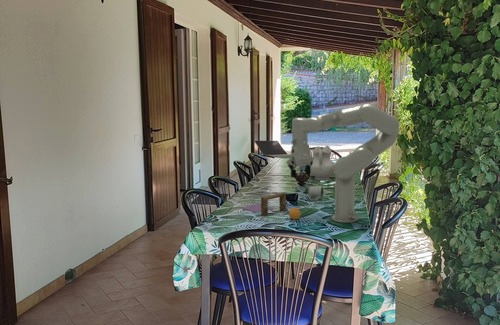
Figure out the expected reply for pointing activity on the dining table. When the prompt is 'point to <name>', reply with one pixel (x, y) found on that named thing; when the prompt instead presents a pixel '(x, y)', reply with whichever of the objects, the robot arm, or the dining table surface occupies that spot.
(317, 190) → the ceramic mug
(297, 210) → the ball
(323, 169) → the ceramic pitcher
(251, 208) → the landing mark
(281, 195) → the bridge
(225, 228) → the dining table surface
